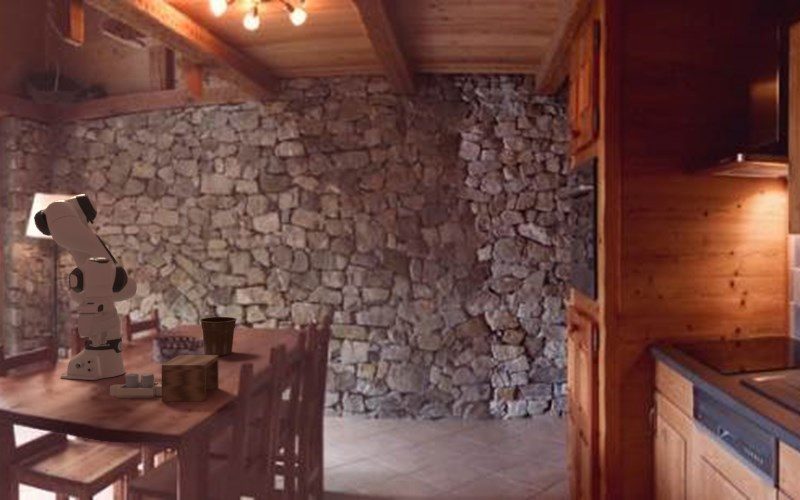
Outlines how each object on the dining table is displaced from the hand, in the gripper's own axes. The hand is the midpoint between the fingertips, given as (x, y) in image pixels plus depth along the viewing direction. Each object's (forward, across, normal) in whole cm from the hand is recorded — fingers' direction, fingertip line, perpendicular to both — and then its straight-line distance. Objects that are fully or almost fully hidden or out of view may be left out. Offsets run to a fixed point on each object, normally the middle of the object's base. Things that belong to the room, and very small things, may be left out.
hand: (99, 345), depth 194 cm
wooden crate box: (+17, 0, +31) cm, 35 cm away
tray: (+17, 0, +14) cm, 22 cm away
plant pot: (+17, -68, +21) cm, 73 cm away
